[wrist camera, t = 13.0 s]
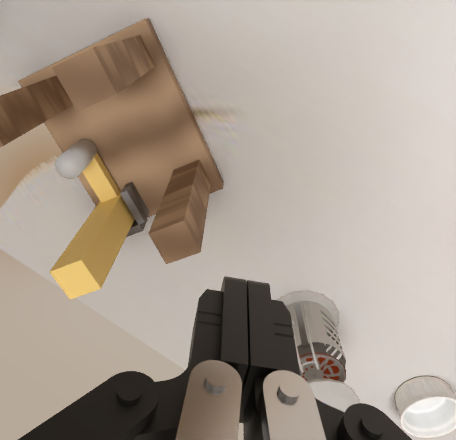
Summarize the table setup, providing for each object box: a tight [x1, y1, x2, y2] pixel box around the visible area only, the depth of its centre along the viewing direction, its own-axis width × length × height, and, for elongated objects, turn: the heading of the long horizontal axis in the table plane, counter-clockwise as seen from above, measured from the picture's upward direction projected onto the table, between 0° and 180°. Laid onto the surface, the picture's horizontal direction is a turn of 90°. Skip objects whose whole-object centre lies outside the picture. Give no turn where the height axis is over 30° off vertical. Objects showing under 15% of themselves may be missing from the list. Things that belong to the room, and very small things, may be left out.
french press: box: [277, 291, 360, 412], centre depth 44 cm, size 10×12×25 cm
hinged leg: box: [50, 139, 135, 299], centre depth 38 cm, size 10×3×14 cm, turn 23°
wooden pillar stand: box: [0, 19, 223, 264], centre depth 37 cm, size 18×14×16 cm
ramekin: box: [395, 376, 456, 438], centre depth 60 cm, size 9×9×4 cm
